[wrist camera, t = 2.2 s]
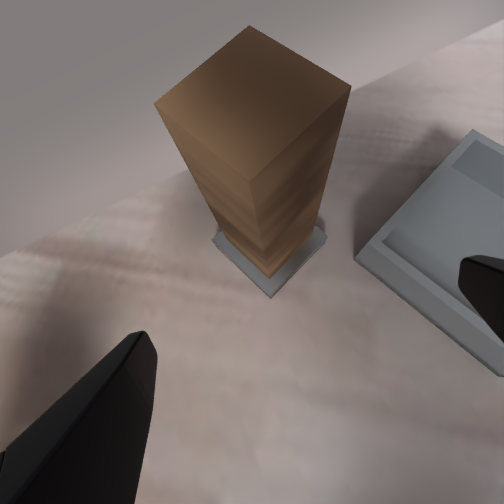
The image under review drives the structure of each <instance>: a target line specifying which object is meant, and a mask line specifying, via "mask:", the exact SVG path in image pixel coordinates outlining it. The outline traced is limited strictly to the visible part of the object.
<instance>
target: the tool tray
mask: <svg viewBox="0 0 504 504" xmlns="http://www.w3.org/2000/svg"><path fill="white" fill-rule="evenodd" d="M473 255H485V256H490V257H495V258H500V259H504V147H503V146H502V145H500V144H498V143H496V142H495V141H493V140H491V139H489V138H487V137H486V136H484V135H482V134H480V133H479V132H477V131H475V130H473V129H472V130H471V132H470V133H469V134H468V135H467V136H466V137H465V138H464V139H463V140H462V141H461V142H460V143H459V144H458V146H457V147H456V148H455V149H454V150H453V151H452V152H451V153H450V154H449V155H448V156H447V157H446V158H445V160H444V161H443V162H442V163H441V164H440V165H439V166H438V167H437V168H436V169H435V170H434V171H433V172H432V174H431V175H430V176H429V177H428V178H427V179H426V180H425V181H424V182H423V183H422V184H421V185H420V186H419V188H418V189H417V190H416V191H415V192H414V193H413V194H412V195H411V196H410V197H409V198H408V199H407V201H406V202H405V203H404V204H403V205H402V206H401V207H400V208H399V209H398V210H397V211H396V212H395V213H394V215H393V216H392V217H391V218H390V219H389V220H388V221H387V222H386V223H385V224H384V225H383V226H382V227H381V229H380V230H379V231H378V232H377V233H376V234H375V235H374V236H373V237H372V238H371V239H370V240H369V241H368V243H367V244H366V245H365V246H364V247H363V249H362V250H361V251H360V252H359V253H358V255H357V256H356V257H355V258H354V260H355V261H356V262H358V263H359V264H360V265H361V266H363V267H364V268H365V269H366V270H368V271H369V272H370V273H371V274H373V275H374V276H375V277H376V278H377V279H379V280H380V281H381V282H382V283H384V284H385V285H386V286H387V287H389V288H390V289H391V290H392V291H393V292H395V293H396V294H397V295H398V296H400V297H401V298H402V299H403V300H405V301H406V302H407V303H408V304H410V305H411V306H412V307H413V308H414V309H416V310H417V311H418V312H419V313H421V314H422V315H423V316H424V317H426V318H427V319H428V320H429V321H430V322H432V323H433V324H434V325H435V326H437V327H438V328H439V329H440V330H442V331H443V332H444V333H445V334H446V335H448V336H449V337H450V338H451V339H453V340H454V341H455V342H456V343H458V344H459V345H460V346H461V347H463V348H464V349H465V350H466V351H467V352H469V353H470V354H471V355H472V356H474V357H475V358H476V359H477V360H479V361H480V362H481V363H482V364H483V365H485V366H486V367H487V368H488V369H490V370H491V371H492V372H493V373H495V374H496V375H497V376H500V377H504V343H503V342H502V341H501V340H500V339H499V338H498V337H497V335H496V334H495V333H494V332H493V331H492V330H491V328H490V327H489V326H488V325H487V323H486V322H485V321H484V320H483V319H482V317H481V316H480V315H479V314H478V312H477V311H476V310H475V309H474V307H473V306H472V305H471V304H470V302H469V301H468V300H467V299H466V298H465V296H464V295H463V294H462V293H461V291H460V289H459V287H458V276H459V268H460V262H461V260H462V259H463V258H465V257H469V256H473Z"/></svg>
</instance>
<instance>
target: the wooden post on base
mask: <svg viewBox="0 0 504 504" xmlns="http://www.w3.org/2000/svg"><path fill="white" fill-rule="evenodd" d="M350 90H351V85H349V84H347V83H346V82H344V81H342V80H341V79H339V78H337V77H336V76H334V75H332V74H331V73H329V72H327V71H326V70H324V69H322V68H320V67H319V66H317V65H315V64H314V63H312V62H310V61H309V60H307V59H305V58H303V57H302V56H300V55H299V54H297V53H295V52H294V51H292V50H290V49H289V48H287V47H285V46H283V45H282V44H280V43H278V42H277V41H275V40H273V39H272V38H270V37H268V36H266V35H265V34H263V33H262V32H260V31H258V30H257V29H255V28H253V27H251V26H248V27H247V28H245V29H244V30H243V31H242V32H241V33H239V34H238V35H237V36H236V37H234V38H233V39H232V40H231V41H230V42H228V43H227V44H226V45H225V46H223V47H222V48H221V49H220V50H218V51H217V52H216V53H215V54H214V55H212V56H211V57H210V58H209V59H208V60H206V61H205V62H204V63H203V64H202V65H200V66H199V67H198V68H196V69H195V70H194V71H193V72H192V73H190V74H189V75H188V76H187V77H185V78H184V79H183V80H182V81H181V82H179V83H178V84H177V85H176V86H174V87H173V88H172V89H171V90H170V91H169V92H167V93H166V94H165V95H163V96H162V97H161V98H160V99H159V100H158V101H156V102H155V103H154V105H155V107H156V109H157V111H158V112H159V114H160V116H161V118H162V120H163V122H164V124H165V126H166V128H167V129H168V131H169V133H170V135H171V136H172V138H173V141H174V142H175V144H176V146H177V148H178V150H179V151H180V154H181V155H182V157H183V159H184V161H185V163H186V165H187V167H188V168H189V170H190V172H191V174H192V176H193V178H194V180H195V181H196V183H197V185H198V187H199V189H200V191H201V193H202V195H203V196H204V198H205V200H206V202H207V204H208V206H209V208H210V209H211V211H212V213H213V215H214V217H215V219H216V221H217V222H218V224H219V226H220V228H221V231H220V232H219V233H218V234H217V235H216V236H215V237H214V238H213V239H212V241H213V243H214V244H215V246H216V247H217V248H218V249H219V250H220V251H221V252H222V253H223V254H224V255H226V256H227V257H228V258H229V259H230V260H231V261H232V262H233V263H234V264H235V265H236V266H237V267H238V268H239V269H240V270H241V271H242V272H243V273H244V274H245V275H246V276H247V277H248V278H249V279H250V280H252V281H253V282H254V283H255V284H256V285H257V286H258V287H259V288H260V289H261V290H262V291H263V292H264V293H265V294H266V295H267V296H268V297H269V298H270V299H271V298H272V297H273V296H274V295H275V294H276V293H277V292H278V291H279V290H280V289H281V288H282V287H283V286H284V284H285V283H286V282H287V281H288V280H289V279H290V278H291V277H292V276H293V275H294V274H295V273H296V272H297V271H298V270H299V269H300V268H301V267H302V266H303V265H304V264H305V263H306V262H307V261H308V259H309V258H310V257H311V256H312V255H313V254H314V253H315V252H316V251H317V250H318V249H319V248H320V247H321V246H322V245H323V244H324V243H325V241H326V238H327V236H328V235H327V234H325V233H324V232H323V231H322V230H321V229H319V228H318V227H317V226H316V225H315V222H316V218H317V214H318V211H319V207H320V203H321V199H322V196H323V192H324V188H325V184H326V180H327V177H328V173H329V169H330V165H331V162H332V158H333V154H334V150H335V147H336V143H337V139H338V135H339V132H340V128H341V124H342V120H343V117H344V113H345V109H346V105H347V102H348V98H349V94H350Z"/></svg>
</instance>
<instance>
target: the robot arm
mask: <svg viewBox="0 0 504 504" xmlns="http://www.w3.org/2000/svg"><path fill="white" fill-rule="evenodd" d="M458 287H459V289H460V291H461V293H462V294H463V295H464V296H465V298H466V299H467V300H468V301H469V302H470V304H471V305H472V306H473V307H474V309H475V310H476V311H477V312H478V314H479V315H480V316H481V317H482V319H483V320H484V321H485V322H486V323H487V325H488V326H489V327H490V328H491V330H492V331H493V332H494V333H495V334H496V335H497V337H498V338H499V339H500V340H501V341H502V342H503V343H504V259H500V258H495V257H490V256H485V255H473V256H469V257H465V258H463V259H462V260H461V262H460V268H459V276H458ZM157 359H158V358H157V352H156V349H155V347H154V345H153V343H152V341H151V339H150V338H149V336H148V334H147V333H146V332H145V331H138V332H134V333H131V334H129V335H128V336H127V337H126V338H124V339H123V340H122V341H121V342H120V343H119V344H118V345H117V346H116V347H115V348H114V349H113V350H112V351H110V352H109V353H108V354H107V355H106V356H105V357H104V358H103V359H102V360H101V361H100V362H99V363H97V364H96V365H95V366H94V367H93V368H92V369H91V370H90V371H89V372H88V373H87V374H86V375H84V376H83V377H82V378H81V379H80V380H79V381H78V382H77V383H76V384H75V385H74V386H73V387H71V388H70V389H69V390H68V391H67V392H66V393H65V394H64V395H63V396H62V397H61V398H60V399H59V400H57V401H56V402H55V403H54V404H53V405H52V406H51V407H50V408H49V409H48V410H47V411H46V412H44V413H43V414H42V415H41V416H40V417H39V418H38V419H37V420H36V421H35V422H34V423H33V424H31V425H30V426H29V427H28V428H27V429H26V430H25V431H24V432H23V433H22V434H21V435H20V436H18V437H17V438H16V439H15V440H14V441H13V442H12V443H11V444H10V445H9V446H8V447H7V448H6V451H2V452H1V453H0V504H134V503H135V498H136V493H137V488H138V483H139V478H140V473H141V468H142V463H143V458H144V453H145V448H146V443H147V438H148V433H149V428H150V423H151V417H152V411H153V403H154V392H155V381H156V370H157Z"/></svg>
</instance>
